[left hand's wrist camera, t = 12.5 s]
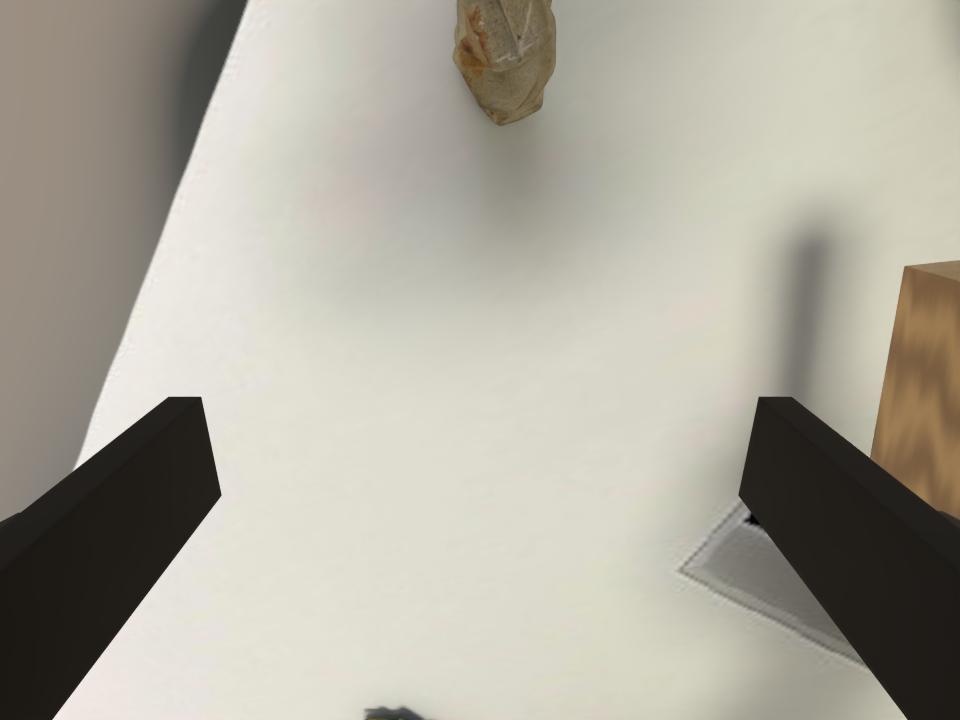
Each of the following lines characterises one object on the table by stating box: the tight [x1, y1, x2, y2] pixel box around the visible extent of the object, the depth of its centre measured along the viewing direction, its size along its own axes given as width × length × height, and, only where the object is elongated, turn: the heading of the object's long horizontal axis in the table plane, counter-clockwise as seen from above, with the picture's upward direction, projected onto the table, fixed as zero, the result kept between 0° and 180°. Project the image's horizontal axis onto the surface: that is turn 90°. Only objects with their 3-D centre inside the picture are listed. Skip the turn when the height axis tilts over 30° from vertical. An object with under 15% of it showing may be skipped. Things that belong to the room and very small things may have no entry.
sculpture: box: [453, 0, 556, 125], centre depth 31 cm, size 6×7×15 cm
